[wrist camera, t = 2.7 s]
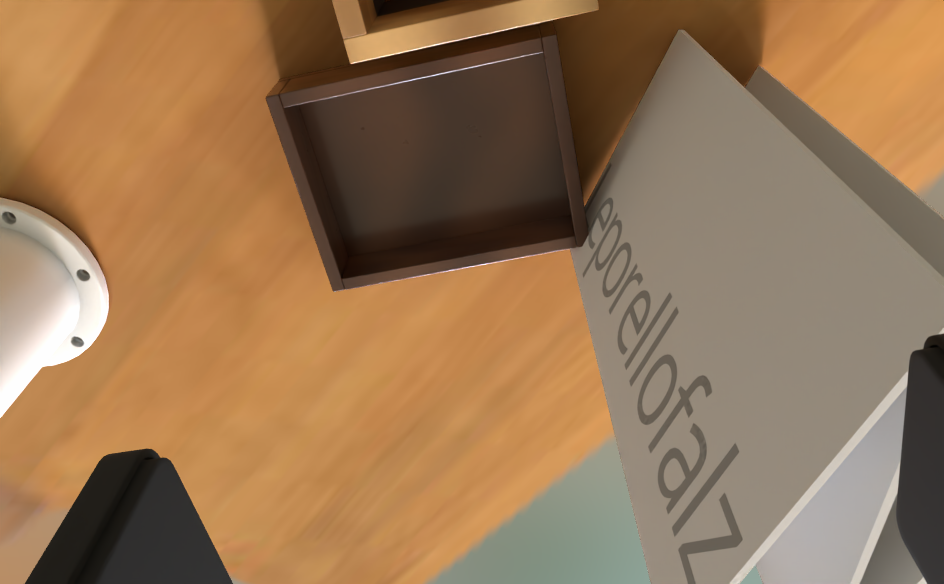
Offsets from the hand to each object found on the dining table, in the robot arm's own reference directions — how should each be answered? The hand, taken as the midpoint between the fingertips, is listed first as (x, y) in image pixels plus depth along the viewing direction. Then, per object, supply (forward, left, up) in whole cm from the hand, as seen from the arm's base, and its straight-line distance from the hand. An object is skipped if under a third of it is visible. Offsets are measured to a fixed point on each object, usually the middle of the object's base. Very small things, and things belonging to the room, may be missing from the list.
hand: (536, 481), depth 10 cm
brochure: (+7, -12, -39) cm, 42 cm away
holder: (-6, -9, -39) cm, 41 cm away
